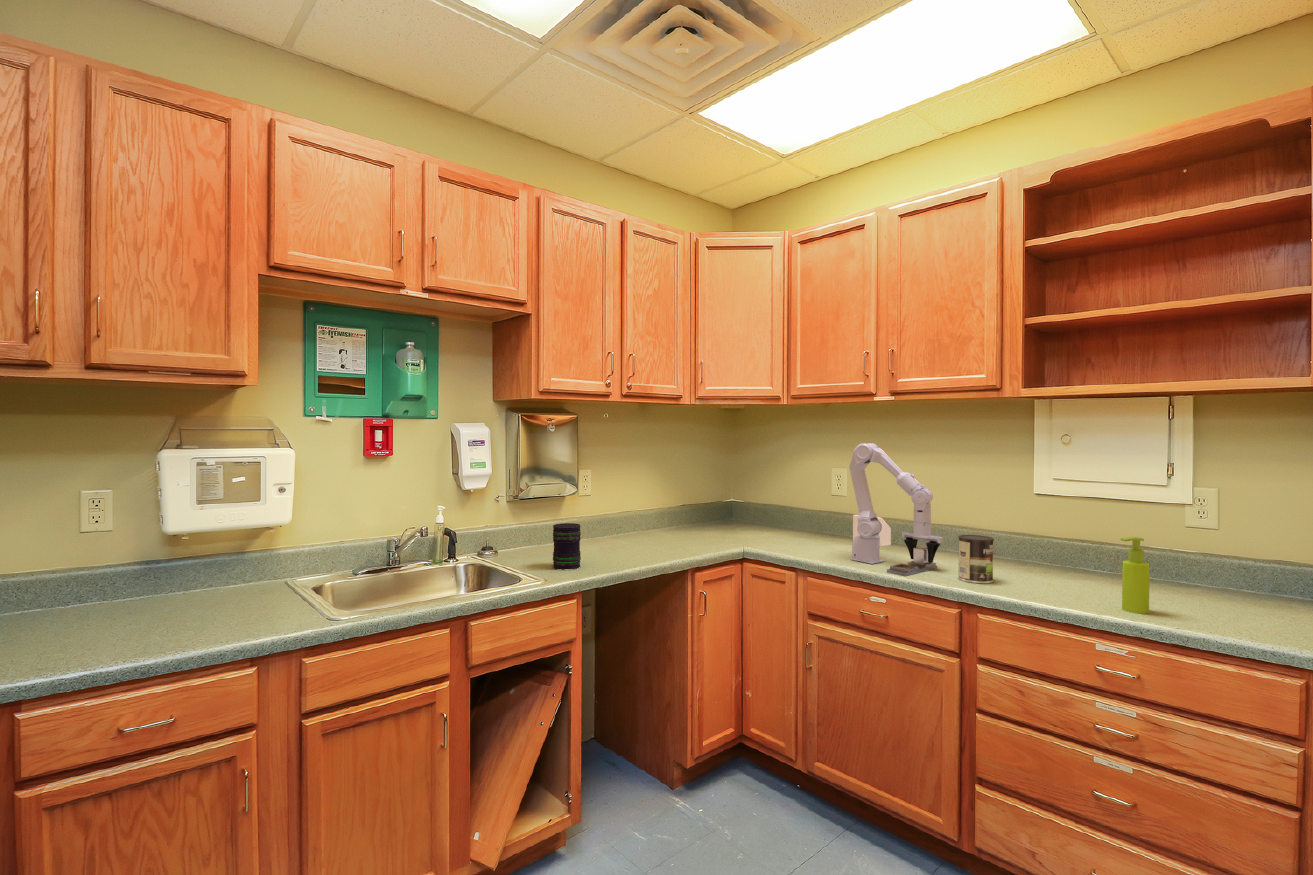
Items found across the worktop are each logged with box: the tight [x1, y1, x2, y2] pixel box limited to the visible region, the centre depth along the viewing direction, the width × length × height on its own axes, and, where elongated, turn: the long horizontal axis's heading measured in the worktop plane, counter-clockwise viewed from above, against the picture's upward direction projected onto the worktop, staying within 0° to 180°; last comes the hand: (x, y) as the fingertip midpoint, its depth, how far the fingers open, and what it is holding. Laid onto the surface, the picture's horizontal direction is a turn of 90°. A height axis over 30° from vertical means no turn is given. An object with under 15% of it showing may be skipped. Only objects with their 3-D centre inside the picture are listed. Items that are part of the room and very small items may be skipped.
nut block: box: [912, 546, 930, 565], centre depth 223 cm, size 4×4×6 cm
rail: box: [886, 560, 938, 577], centre depth 219 cm, size 7×20×2 cm, turn 127°
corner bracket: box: [852, 514, 892, 547], centre depth 270 cm, size 11×11×12 cm
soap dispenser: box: [1119, 536, 1151, 615], centre depth 171 cm, size 6×7×20 cm
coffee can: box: [958, 534, 995, 585], centre depth 206 cm, size 10×10×14 cm
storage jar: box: [552, 522, 582, 570], centre depth 224 cm, size 10×10×15 cm
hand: (921, 560), depth 223 cm, fingers open, 6 cm apart
